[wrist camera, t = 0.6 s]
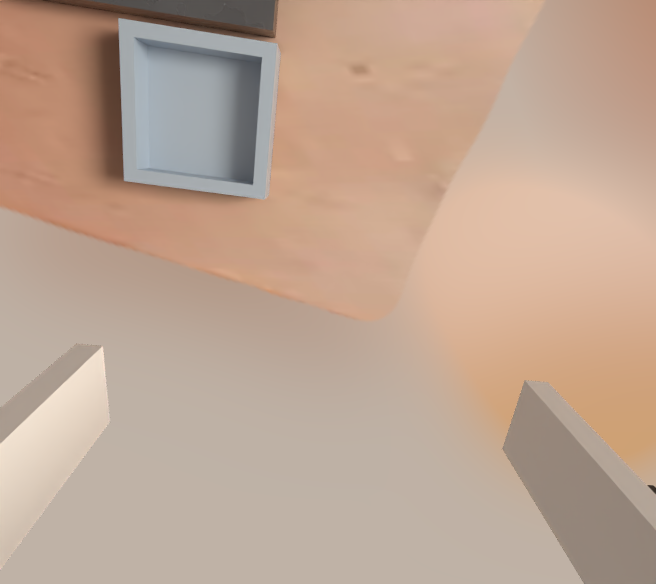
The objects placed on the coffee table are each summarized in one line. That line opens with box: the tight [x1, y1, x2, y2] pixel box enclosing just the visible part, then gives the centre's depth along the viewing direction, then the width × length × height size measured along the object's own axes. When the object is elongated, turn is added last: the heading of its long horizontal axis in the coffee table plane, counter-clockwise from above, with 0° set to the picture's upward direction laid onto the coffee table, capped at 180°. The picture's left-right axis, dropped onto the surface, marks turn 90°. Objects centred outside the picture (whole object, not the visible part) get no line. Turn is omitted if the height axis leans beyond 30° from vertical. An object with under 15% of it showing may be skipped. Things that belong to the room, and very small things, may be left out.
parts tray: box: [118, 18, 281, 199], centre depth 31 cm, size 11×11×3 cm
